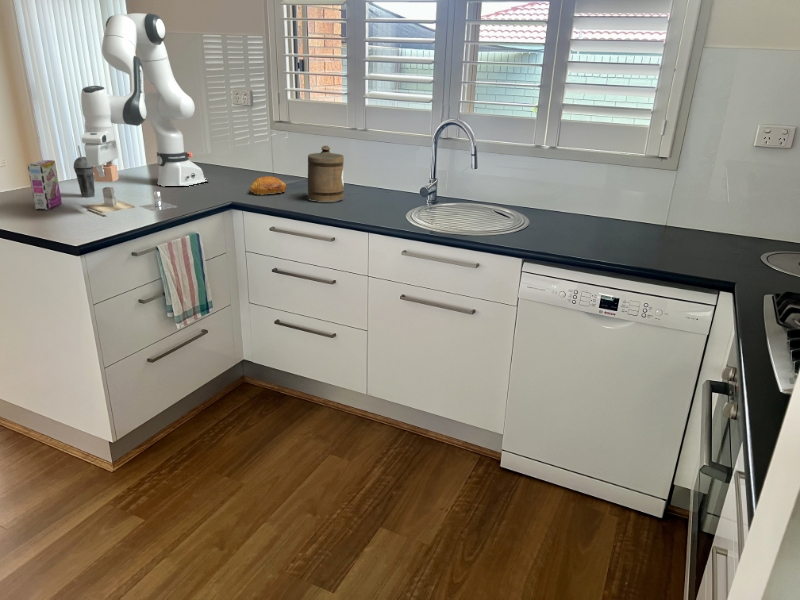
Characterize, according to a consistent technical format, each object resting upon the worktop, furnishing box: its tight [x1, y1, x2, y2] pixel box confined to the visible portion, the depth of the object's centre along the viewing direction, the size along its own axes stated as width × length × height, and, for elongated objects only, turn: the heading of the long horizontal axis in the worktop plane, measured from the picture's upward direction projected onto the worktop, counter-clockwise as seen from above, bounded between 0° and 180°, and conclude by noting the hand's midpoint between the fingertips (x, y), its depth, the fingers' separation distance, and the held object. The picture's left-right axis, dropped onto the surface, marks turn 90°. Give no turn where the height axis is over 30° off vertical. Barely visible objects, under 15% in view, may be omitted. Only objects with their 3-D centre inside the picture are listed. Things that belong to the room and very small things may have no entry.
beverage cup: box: [73, 145, 96, 199], centre depth 235 cm, size 7×7×20 cm
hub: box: [86, 186, 136, 218], centre depth 217 cm, size 12×12×8 cm
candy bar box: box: [27, 159, 63, 211], centre depth 218 cm, size 11×5×16 cm, turn 5°
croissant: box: [249, 175, 287, 194], centre depth 257 cm, size 14×16×8 cm
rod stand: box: [138, 190, 178, 212], centre depth 221 cm, size 10×10×7 cm
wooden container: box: [307, 145, 345, 201], centre depth 246 cm, size 15×15×22 cm
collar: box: [93, 164, 119, 183], centre depth 213 cm, size 6×6×5 cm
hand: (106, 175), depth 213 cm, fingers closed on collar, 6 cm apart
